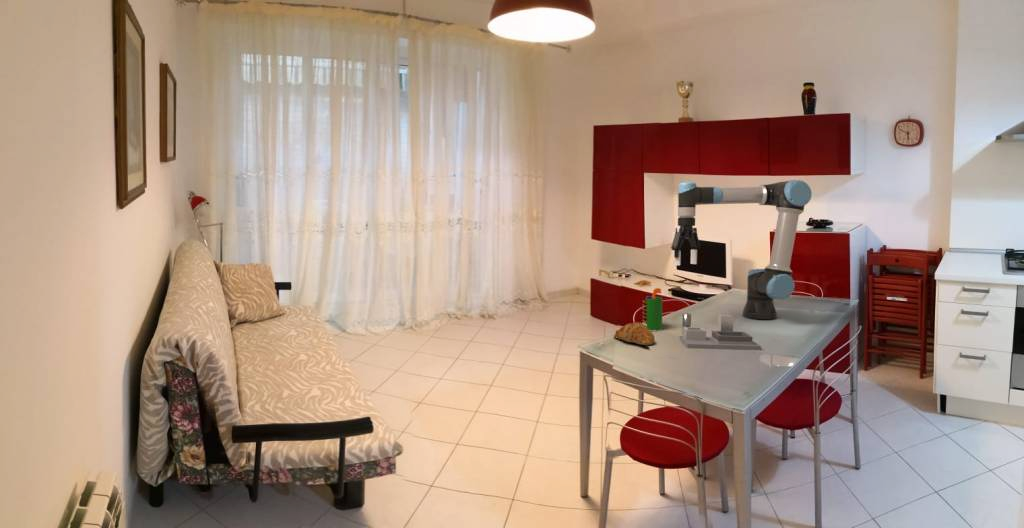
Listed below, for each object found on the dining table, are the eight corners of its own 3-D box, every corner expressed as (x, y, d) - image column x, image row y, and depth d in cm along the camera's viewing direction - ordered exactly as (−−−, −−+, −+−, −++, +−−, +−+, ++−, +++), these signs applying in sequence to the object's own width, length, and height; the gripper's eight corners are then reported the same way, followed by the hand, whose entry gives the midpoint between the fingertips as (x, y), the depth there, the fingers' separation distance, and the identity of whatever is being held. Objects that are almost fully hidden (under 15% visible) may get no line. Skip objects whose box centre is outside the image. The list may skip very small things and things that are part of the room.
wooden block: (729, 337, 271) (729, 314, 270) (732, 339, 265) (733, 316, 264) (717, 336, 271) (717, 314, 270) (720, 339, 265) (721, 316, 264)
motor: (638, 330, 285) (639, 286, 284) (657, 330, 286) (659, 287, 285) (645, 334, 275) (646, 289, 274) (665, 334, 276) (666, 289, 274)
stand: (747, 341, 261) (748, 328, 261) (760, 349, 243) (761, 336, 243) (679, 339, 264) (679, 326, 263) (687, 347, 246) (687, 333, 246)
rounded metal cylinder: (689, 336, 272) (690, 313, 271) (691, 337, 268) (691, 314, 268) (681, 335, 272) (682, 313, 272) (682, 337, 269) (683, 314, 268)
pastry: (607, 339, 263) (607, 320, 263) (628, 336, 271) (628, 318, 270) (645, 347, 247) (645, 327, 246) (666, 344, 255) (667, 324, 254)
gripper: (693, 217, 290) (692, 263, 291) (663, 216, 273) (662, 265, 274) (708, 217, 284) (707, 263, 286) (678, 216, 267) (677, 266, 269)
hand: (685, 264), depth 280 cm, fingers open, 13 cm apart
